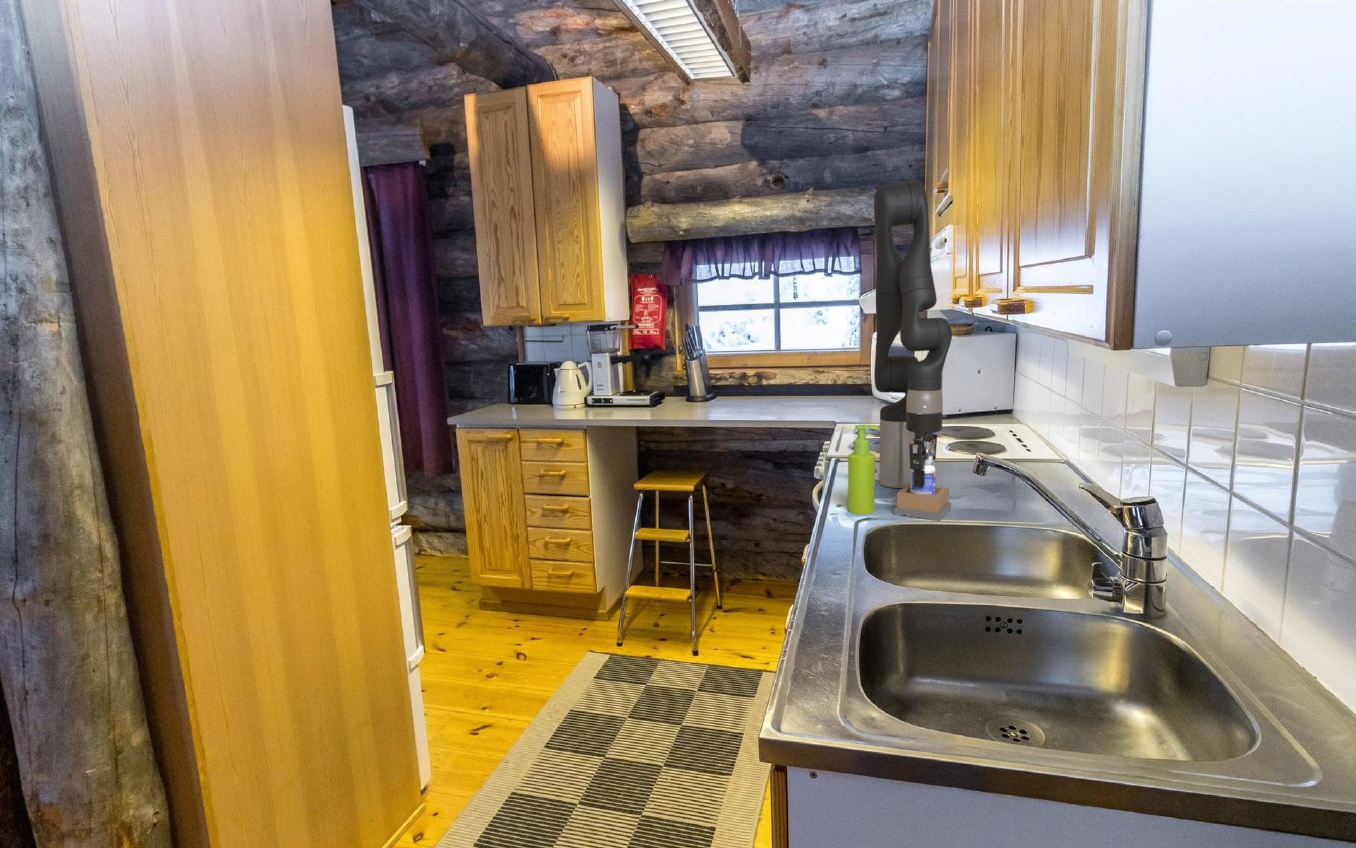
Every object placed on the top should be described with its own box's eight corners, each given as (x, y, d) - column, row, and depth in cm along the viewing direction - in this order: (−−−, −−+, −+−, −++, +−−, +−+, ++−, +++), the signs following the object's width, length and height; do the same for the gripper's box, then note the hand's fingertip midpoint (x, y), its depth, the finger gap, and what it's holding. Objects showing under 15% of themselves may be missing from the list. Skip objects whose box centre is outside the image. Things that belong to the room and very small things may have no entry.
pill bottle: (938, 501, 155) (940, 458, 153) (914, 502, 155) (915, 459, 153) (929, 494, 160) (930, 453, 159) (906, 495, 160) (907, 454, 158)
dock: (906, 503, 165) (907, 482, 164) (951, 508, 159) (951, 487, 158) (893, 514, 157) (894, 493, 156) (940, 521, 151) (940, 498, 150)
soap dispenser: (880, 514, 157) (881, 427, 154) (848, 514, 159) (848, 427, 155) (878, 507, 163) (878, 422, 159) (847, 506, 164) (847, 423, 161)
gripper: (916, 404, 162) (914, 475, 165) (897, 413, 150) (896, 489, 153) (950, 405, 158) (948, 478, 161) (933, 415, 146) (931, 493, 149)
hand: (922, 483), depth 157 cm, fingers closed on pill bottle, 5 cm apart
